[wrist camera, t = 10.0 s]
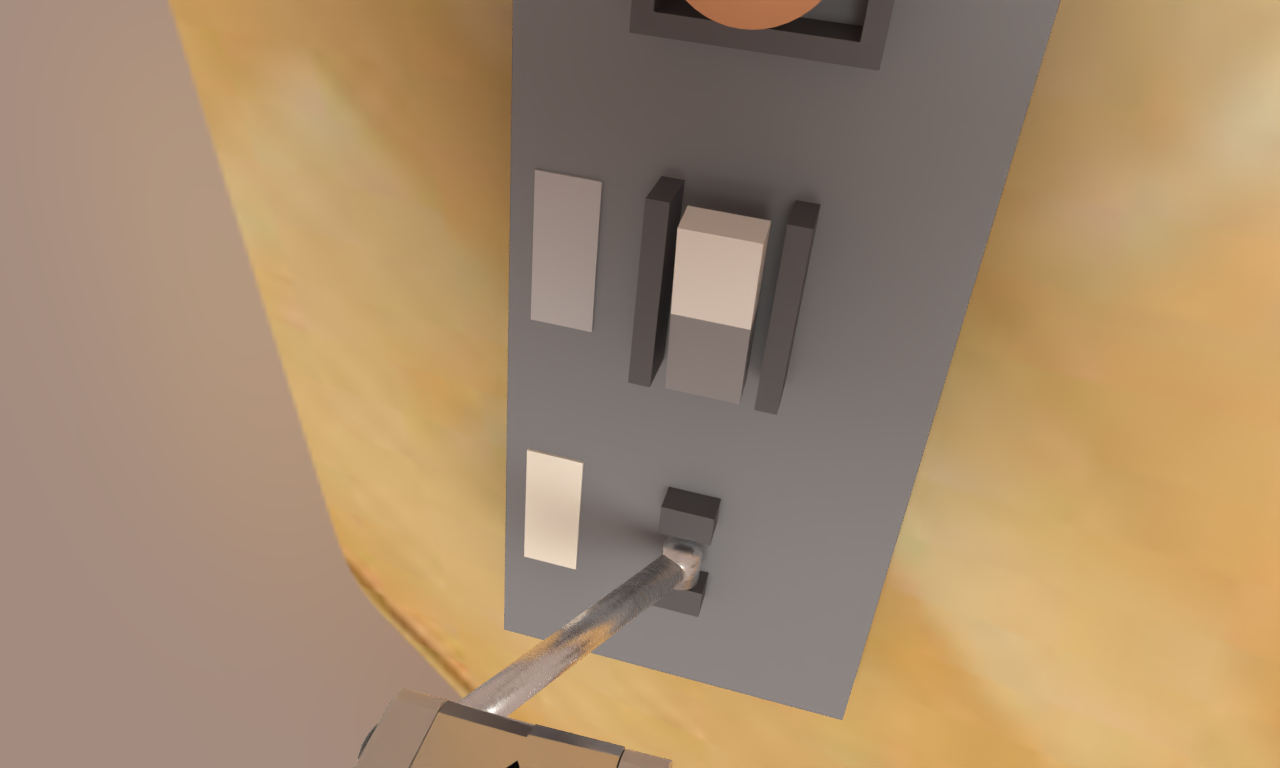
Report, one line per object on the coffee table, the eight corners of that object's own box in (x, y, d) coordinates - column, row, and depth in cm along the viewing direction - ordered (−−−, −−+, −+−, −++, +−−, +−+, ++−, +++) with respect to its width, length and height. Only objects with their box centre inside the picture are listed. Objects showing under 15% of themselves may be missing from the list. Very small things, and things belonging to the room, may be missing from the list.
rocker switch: (687, 205, 23) (677, 227, 22) (771, 220, 23) (763, 244, 22) (674, 364, 26) (665, 388, 26) (746, 379, 26) (739, 404, 25)
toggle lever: (668, 503, 30) (331, 729, 22) (729, 542, 29) (395, 796, 21) (660, 561, 31) (340, 794, 24) (719, 601, 30) (401, 861, 22)
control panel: (555, -466, 20) (487, -510, 17) (1172, -427, 18) (1218, -469, 15) (524, 590, 36) (486, 662, 33) (847, 675, 34) (837, 759, 31)
